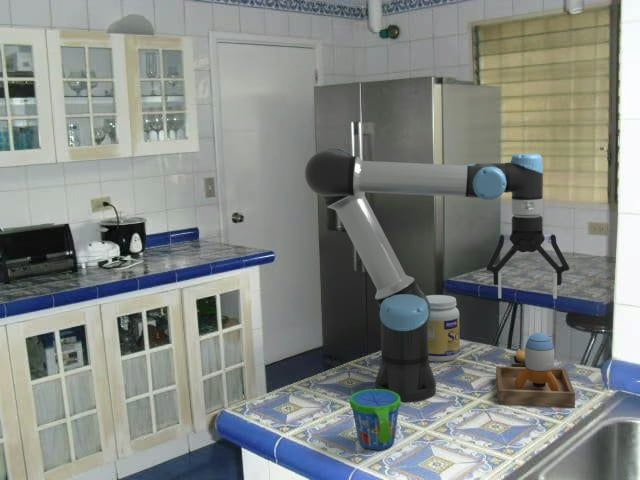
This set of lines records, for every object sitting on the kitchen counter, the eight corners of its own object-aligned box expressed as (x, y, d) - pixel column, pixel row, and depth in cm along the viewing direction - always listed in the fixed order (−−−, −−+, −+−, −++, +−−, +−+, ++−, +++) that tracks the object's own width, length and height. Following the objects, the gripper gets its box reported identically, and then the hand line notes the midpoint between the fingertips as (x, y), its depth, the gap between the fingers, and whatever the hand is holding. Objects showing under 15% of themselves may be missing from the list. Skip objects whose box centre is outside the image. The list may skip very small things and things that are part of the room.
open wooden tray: (498, 404, 165) (498, 390, 165) (496, 379, 182) (496, 366, 181) (574, 408, 162) (575, 393, 161) (565, 381, 178) (565, 368, 178)
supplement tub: (450, 365, 193) (450, 306, 191) (410, 359, 200) (409, 301, 197) (466, 352, 204) (465, 296, 201) (426, 347, 210) (426, 292, 207)
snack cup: (347, 429, 155) (346, 385, 153) (395, 426, 156) (394, 382, 154) (355, 462, 140) (353, 413, 138) (407, 459, 140) (406, 410, 139)
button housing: (511, 378, 182) (511, 363, 181) (510, 369, 189) (510, 355, 188) (540, 379, 180) (540, 364, 180) (537, 370, 187) (537, 355, 186)
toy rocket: (566, 399, 166) (559, 343, 162) (521, 407, 167) (512, 351, 163) (554, 378, 176) (546, 325, 172) (511, 386, 177) (503, 333, 173)
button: (516, 362, 182) (516, 354, 182) (515, 356, 187) (515, 349, 186) (534, 362, 181) (534, 355, 181) (533, 357, 186) (533, 349, 185)
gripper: (476, 218, 176) (477, 300, 179) (581, 216, 171) (580, 301, 174) (476, 214, 183) (477, 293, 187) (577, 212, 178) (576, 294, 181)
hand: (527, 297), depth 180 cm, fingers open, 13 cm apart
